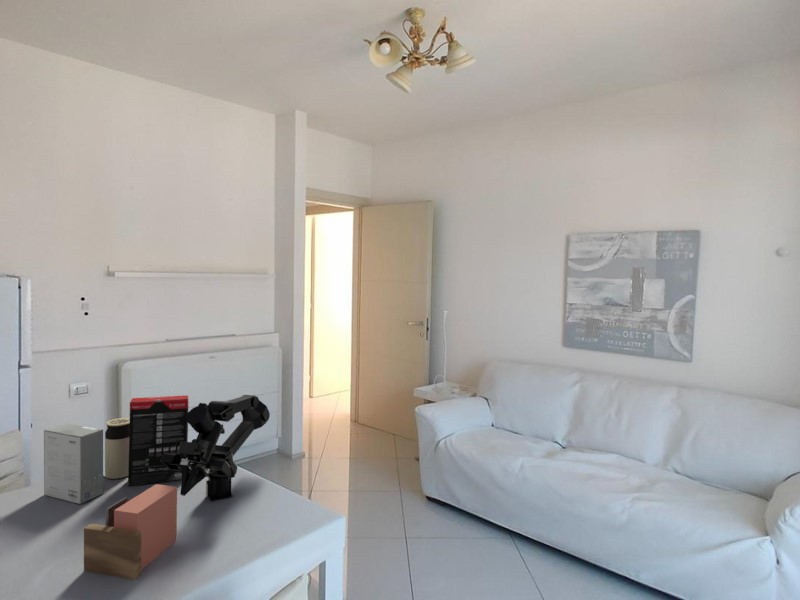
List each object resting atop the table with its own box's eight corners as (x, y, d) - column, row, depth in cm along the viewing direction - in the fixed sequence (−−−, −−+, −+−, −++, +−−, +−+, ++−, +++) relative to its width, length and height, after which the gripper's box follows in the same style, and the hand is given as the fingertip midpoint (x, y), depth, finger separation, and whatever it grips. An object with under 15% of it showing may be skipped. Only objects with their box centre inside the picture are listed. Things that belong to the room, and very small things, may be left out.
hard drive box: (104, 494, 145) (104, 429, 144) (80, 505, 138) (80, 437, 137) (67, 484, 150) (67, 422, 149) (42, 495, 143) (42, 429, 142)
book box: (155, 537, 123) (155, 484, 123) (176, 540, 122) (177, 486, 121) (113, 569, 109) (114, 510, 109) (137, 573, 108) (137, 513, 108)
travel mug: (132, 477, 158) (133, 423, 157) (104, 481, 154) (104, 426, 153) (132, 468, 164) (133, 416, 164) (105, 472, 161) (105, 419, 160)
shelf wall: (91, 565, 111) (91, 523, 110) (141, 574, 108) (141, 531, 108) (83, 571, 109) (83, 528, 108) (134, 579, 106) (134, 535, 106)
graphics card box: (187, 472, 163) (188, 393, 162) (187, 480, 157) (188, 398, 155) (130, 479, 156) (130, 396, 155) (127, 488, 150) (128, 402, 148)
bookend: (110, 551, 116) (111, 494, 116) (127, 553, 116) (127, 497, 115) (90, 565, 111) (90, 506, 110) (108, 568, 110) (108, 509, 109)
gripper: (164, 424, 135) (136, 479, 124) (225, 430, 131) (201, 487, 121) (182, 442, 143) (156, 495, 133) (239, 448, 140) (218, 503, 129)
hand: (182, 495), depth 129 cm, fingers closed
